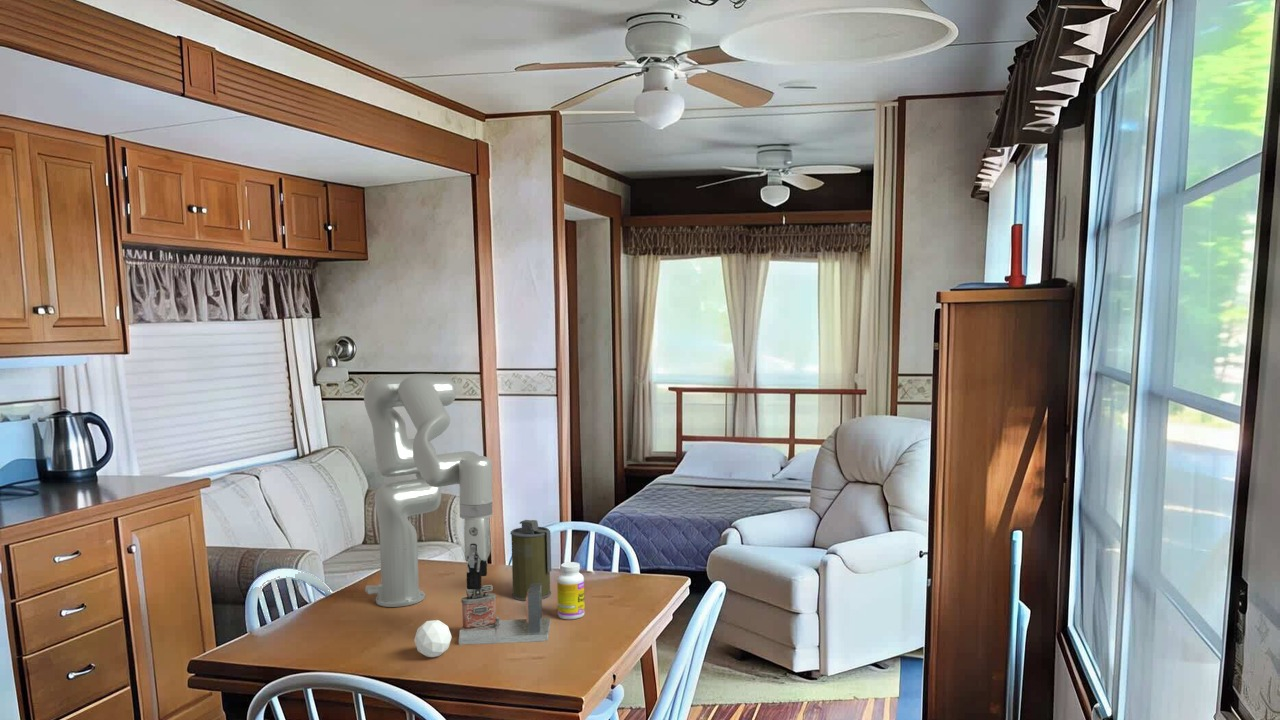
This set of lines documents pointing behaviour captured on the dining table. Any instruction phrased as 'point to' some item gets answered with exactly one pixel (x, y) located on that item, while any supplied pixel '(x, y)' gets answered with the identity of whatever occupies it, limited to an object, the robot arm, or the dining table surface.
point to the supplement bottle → (570, 592)
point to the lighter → (479, 609)
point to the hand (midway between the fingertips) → (477, 582)
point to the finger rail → (514, 625)
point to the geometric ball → (432, 638)
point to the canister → (530, 559)
